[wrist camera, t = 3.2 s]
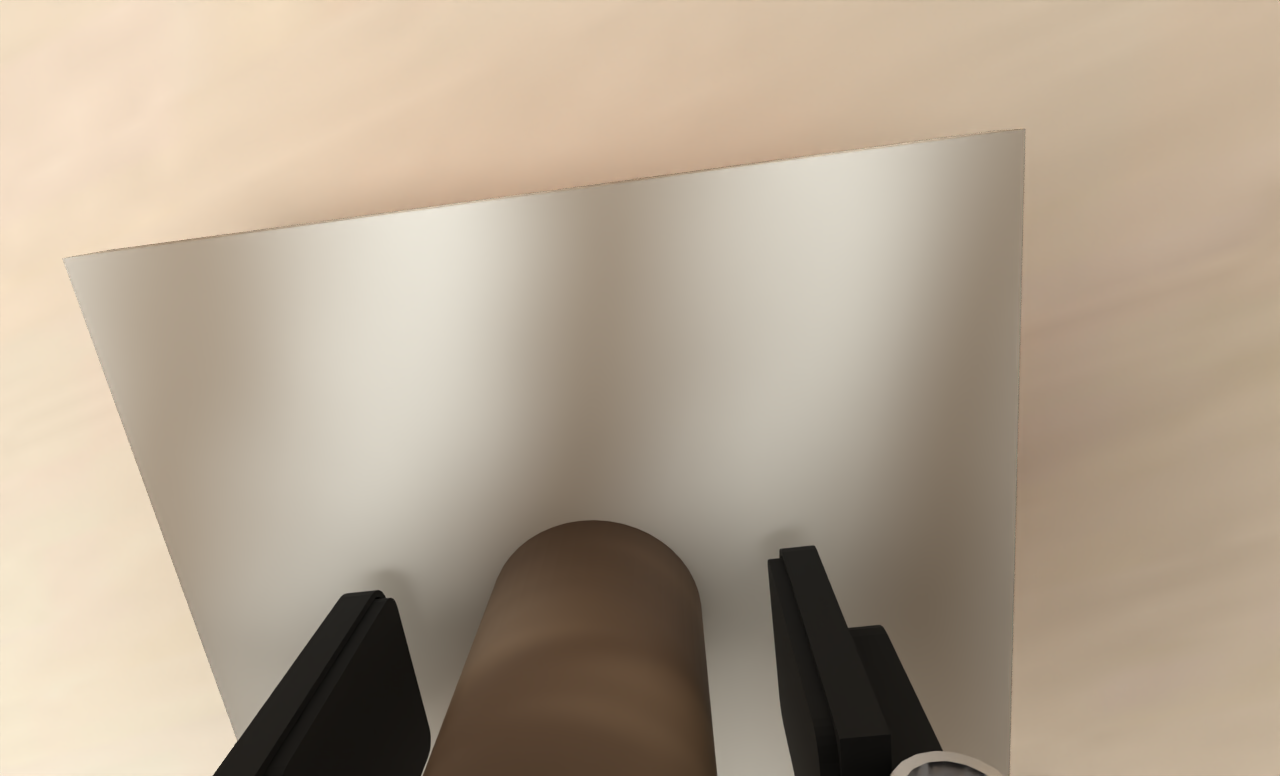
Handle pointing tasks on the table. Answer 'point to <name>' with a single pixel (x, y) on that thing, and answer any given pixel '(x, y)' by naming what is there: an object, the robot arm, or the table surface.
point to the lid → (598, 445)
